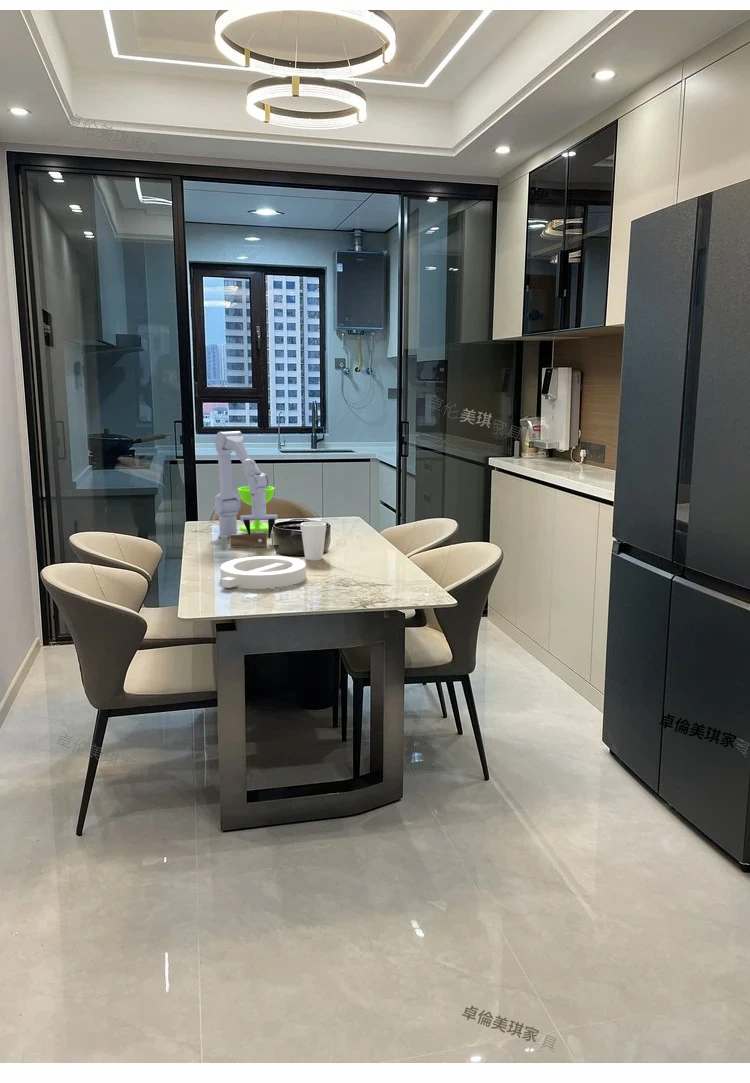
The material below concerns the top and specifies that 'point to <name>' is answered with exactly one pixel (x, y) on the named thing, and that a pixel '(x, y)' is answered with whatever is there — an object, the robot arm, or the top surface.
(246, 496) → the wineglass
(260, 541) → the brown rectangular bar
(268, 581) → the ring with crossbar
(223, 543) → the pale green rectangular bar
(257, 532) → the grey notched block
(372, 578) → the top surface
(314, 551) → the foam cup
